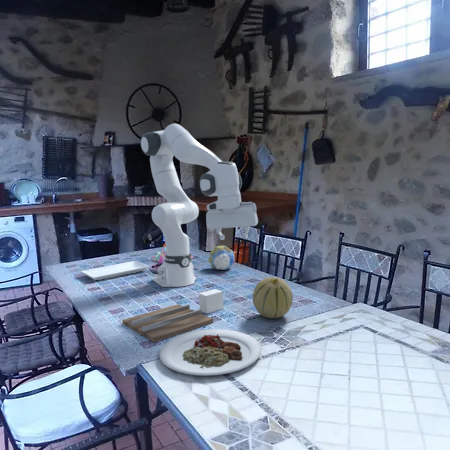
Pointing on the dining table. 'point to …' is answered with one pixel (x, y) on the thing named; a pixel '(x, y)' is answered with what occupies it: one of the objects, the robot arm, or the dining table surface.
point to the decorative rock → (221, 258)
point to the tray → (115, 270)
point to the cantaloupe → (272, 297)
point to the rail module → (211, 301)
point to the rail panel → (167, 322)
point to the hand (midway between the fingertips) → (233, 239)
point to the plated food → (210, 352)
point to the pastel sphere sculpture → (161, 255)
